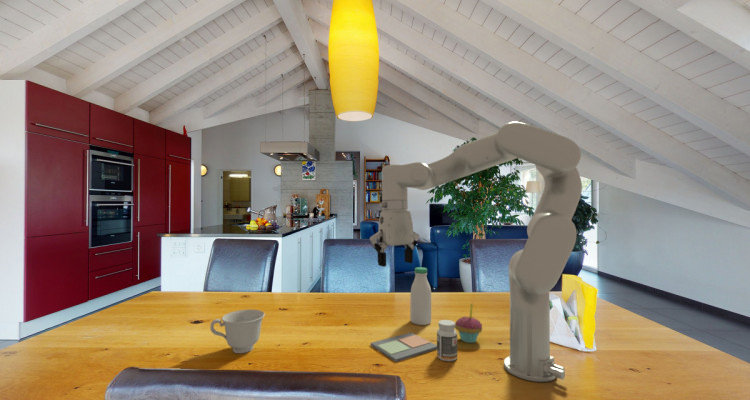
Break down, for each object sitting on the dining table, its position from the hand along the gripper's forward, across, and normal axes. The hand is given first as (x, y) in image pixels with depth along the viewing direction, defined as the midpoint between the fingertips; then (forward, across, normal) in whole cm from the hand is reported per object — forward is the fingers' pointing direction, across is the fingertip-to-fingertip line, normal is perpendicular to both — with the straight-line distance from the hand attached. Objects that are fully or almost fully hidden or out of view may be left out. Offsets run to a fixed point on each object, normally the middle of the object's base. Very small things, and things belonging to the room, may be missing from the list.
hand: (395, 264), depth 97 cm
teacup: (+25, -40, +26) cm, 54 cm away
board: (+26, +4, +2) cm, 26 cm away
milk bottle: (+26, +23, +16) cm, 38 cm away
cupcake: (+26, +25, -5) cm, 37 cm away
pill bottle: (+26, +10, -10) cm, 30 cm away
